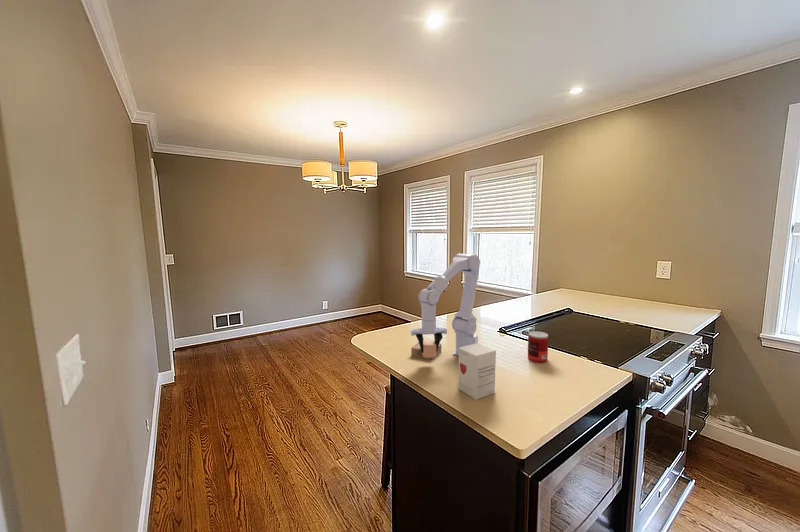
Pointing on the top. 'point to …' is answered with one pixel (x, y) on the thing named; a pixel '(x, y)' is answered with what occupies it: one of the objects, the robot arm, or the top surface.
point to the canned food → (537, 346)
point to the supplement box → (477, 370)
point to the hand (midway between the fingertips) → (429, 351)
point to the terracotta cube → (429, 349)
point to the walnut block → (417, 351)
